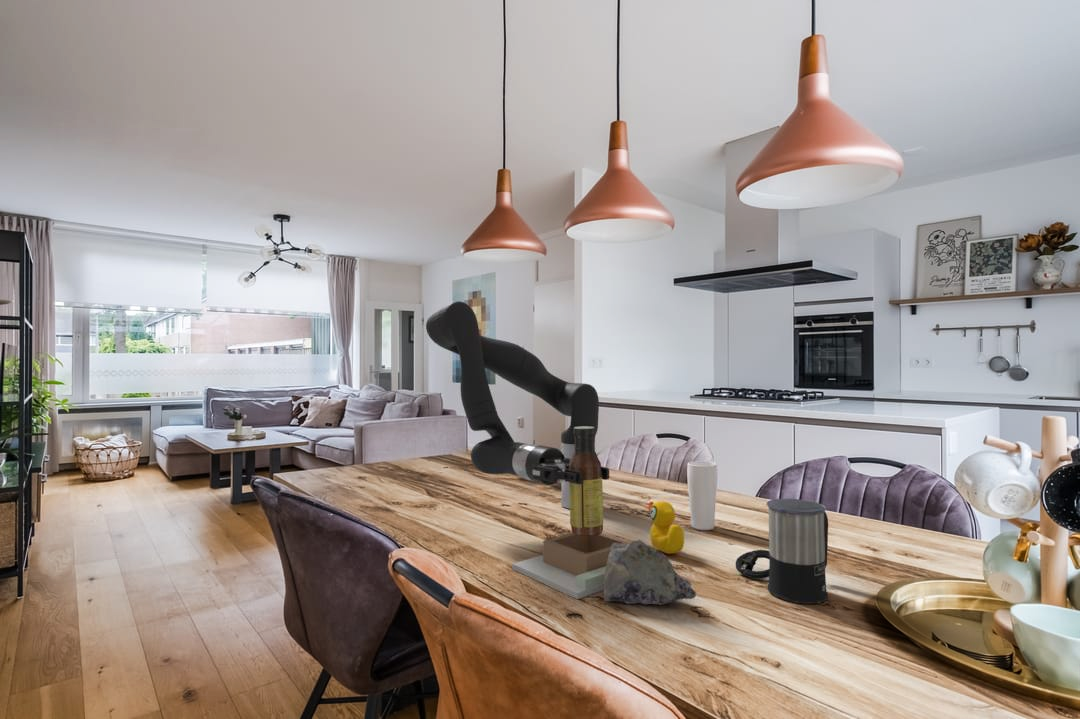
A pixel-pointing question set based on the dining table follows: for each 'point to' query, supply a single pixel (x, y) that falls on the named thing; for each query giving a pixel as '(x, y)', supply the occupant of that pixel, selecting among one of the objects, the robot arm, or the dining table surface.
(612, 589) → the mineral rock
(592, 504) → the sauce bottle
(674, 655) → the dining table surface
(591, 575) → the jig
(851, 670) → the dining table surface
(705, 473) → the white tumbler
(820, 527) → the milk frother
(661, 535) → the duckling
